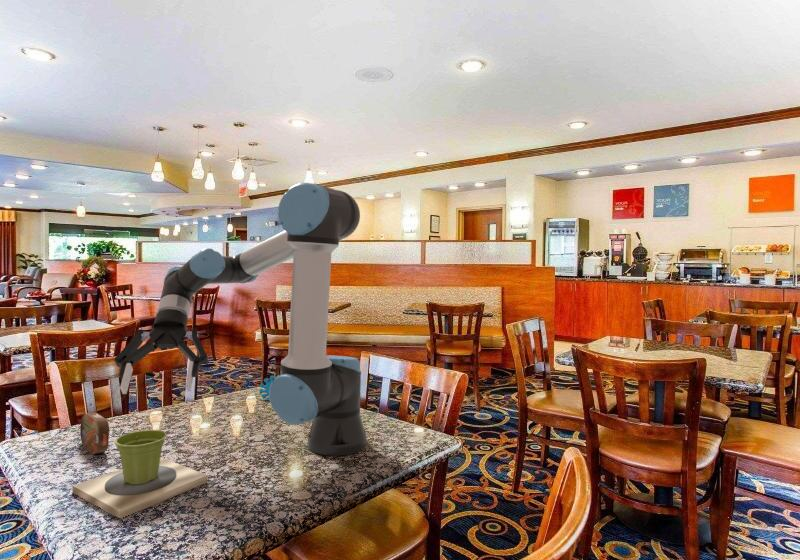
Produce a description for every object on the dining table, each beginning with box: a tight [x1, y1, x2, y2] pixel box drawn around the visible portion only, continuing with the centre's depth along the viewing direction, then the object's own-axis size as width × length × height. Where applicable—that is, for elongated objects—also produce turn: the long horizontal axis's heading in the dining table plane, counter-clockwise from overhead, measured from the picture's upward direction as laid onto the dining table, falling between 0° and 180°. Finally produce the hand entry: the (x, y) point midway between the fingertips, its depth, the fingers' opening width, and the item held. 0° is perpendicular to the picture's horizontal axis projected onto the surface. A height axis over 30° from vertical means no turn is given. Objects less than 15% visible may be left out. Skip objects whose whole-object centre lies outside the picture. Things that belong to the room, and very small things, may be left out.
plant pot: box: [114, 429, 168, 485], centre depth 99 cm, size 9×9×9 cm
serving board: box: [71, 456, 208, 519], centre depth 99 cm, size 18×18×2 cm
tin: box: [79, 412, 110, 455], centre depth 119 cm, size 15×3×8 cm, turn 47°
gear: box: [259, 374, 280, 402], centre depth 167 cm, size 11×6×10 cm
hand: (156, 389), depth 109 cm, fingers open, 13 cm apart
